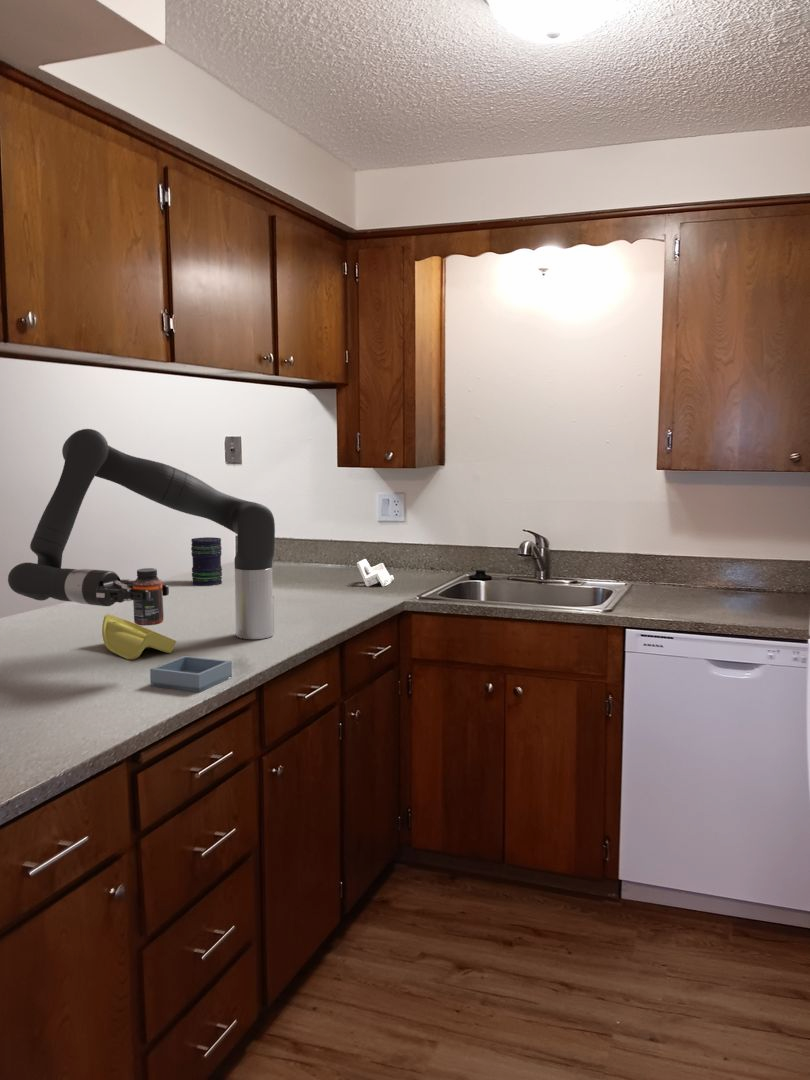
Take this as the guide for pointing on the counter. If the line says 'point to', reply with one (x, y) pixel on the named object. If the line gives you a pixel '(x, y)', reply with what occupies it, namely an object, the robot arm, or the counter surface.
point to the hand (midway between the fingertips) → (157, 593)
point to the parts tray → (190, 673)
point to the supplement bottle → (152, 608)
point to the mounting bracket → (374, 573)
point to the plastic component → (132, 638)
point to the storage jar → (206, 561)
